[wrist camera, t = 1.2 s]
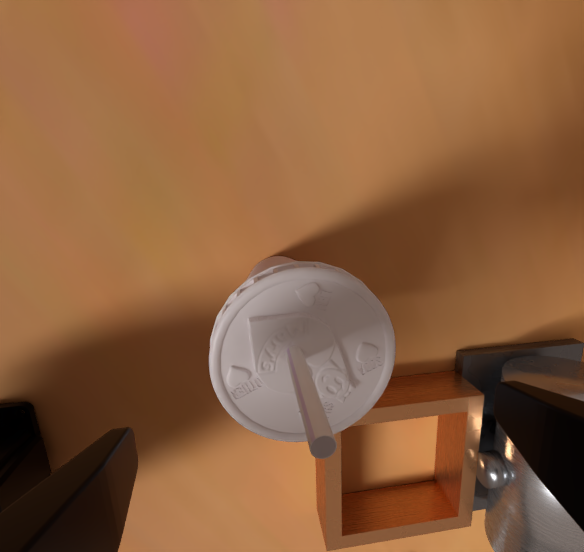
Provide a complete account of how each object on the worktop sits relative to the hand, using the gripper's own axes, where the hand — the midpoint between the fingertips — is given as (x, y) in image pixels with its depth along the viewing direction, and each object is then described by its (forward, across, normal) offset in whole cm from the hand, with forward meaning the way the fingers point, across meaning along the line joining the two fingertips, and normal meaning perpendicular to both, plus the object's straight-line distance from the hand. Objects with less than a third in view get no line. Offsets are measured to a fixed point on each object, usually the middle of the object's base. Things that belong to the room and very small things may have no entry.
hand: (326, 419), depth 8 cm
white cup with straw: (+13, 0, 0) cm, 13 cm away
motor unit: (+13, -12, +12) cm, 21 cm away
